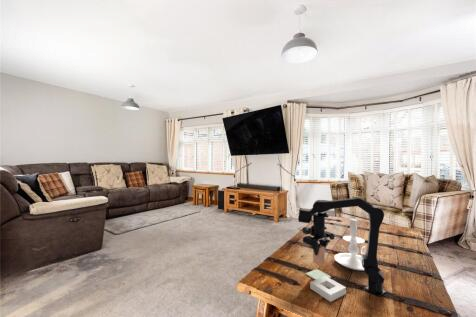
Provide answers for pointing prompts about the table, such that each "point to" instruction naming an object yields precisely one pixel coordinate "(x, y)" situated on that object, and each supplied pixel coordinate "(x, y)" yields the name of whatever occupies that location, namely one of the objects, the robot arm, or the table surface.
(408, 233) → the table surface
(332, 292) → the white square frame
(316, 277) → the pad
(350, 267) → the candlestick
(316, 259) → the plug
